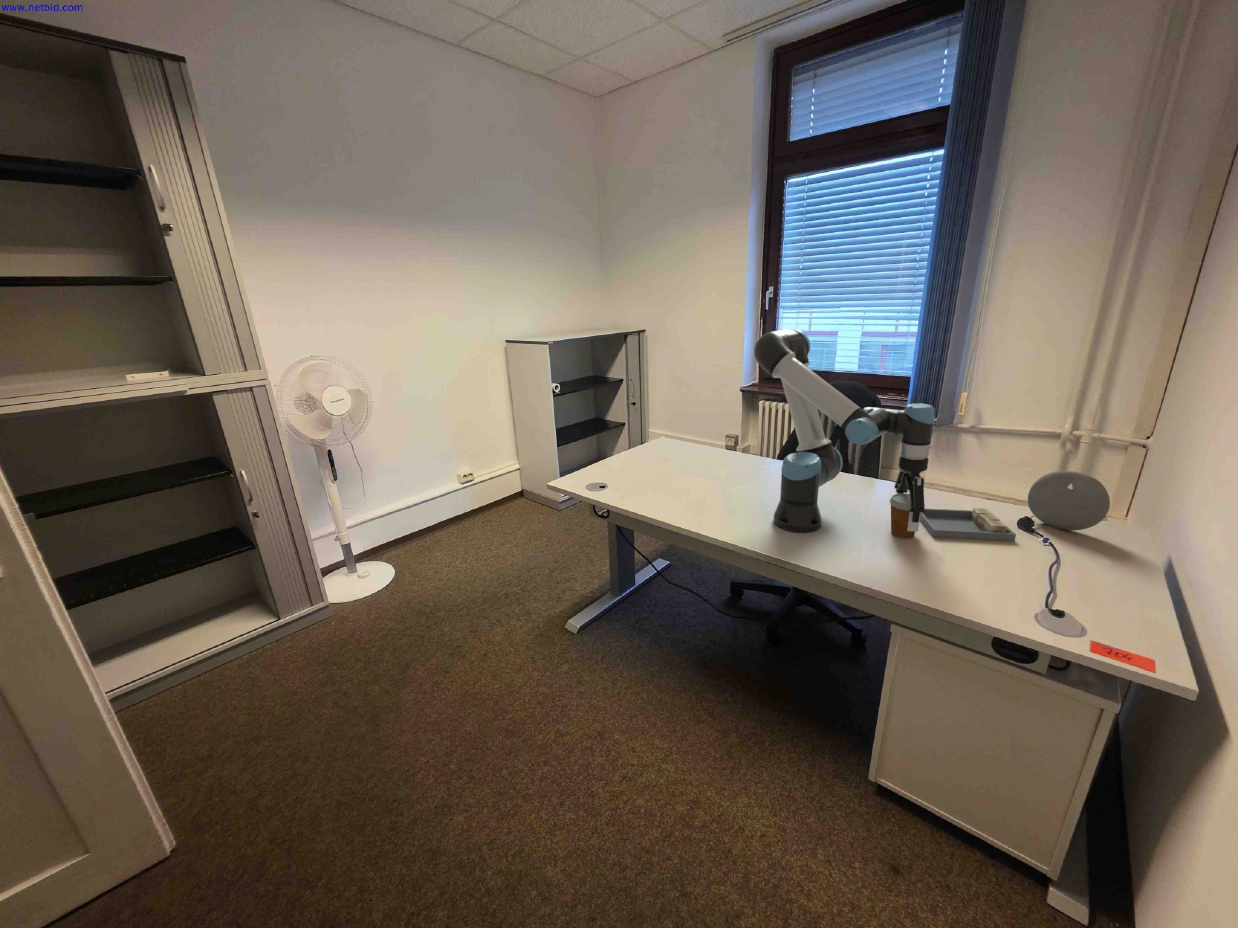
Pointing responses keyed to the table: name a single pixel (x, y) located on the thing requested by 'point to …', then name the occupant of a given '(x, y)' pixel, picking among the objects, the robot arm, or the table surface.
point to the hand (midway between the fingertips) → (905, 521)
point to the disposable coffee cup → (900, 515)
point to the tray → (959, 526)
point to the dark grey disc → (1069, 500)
